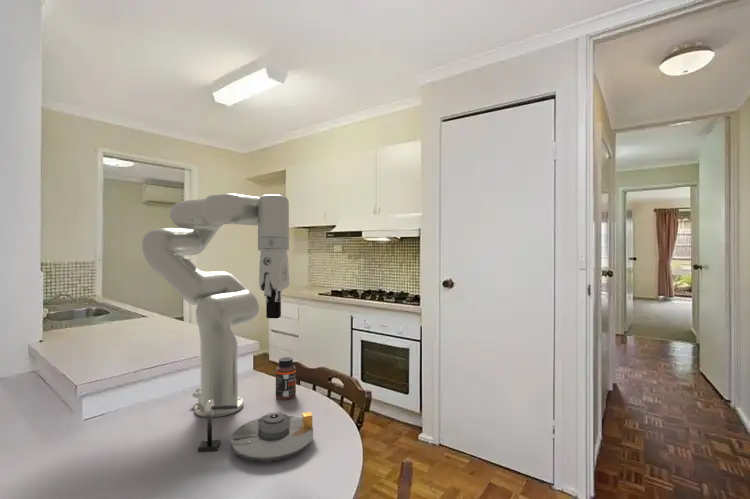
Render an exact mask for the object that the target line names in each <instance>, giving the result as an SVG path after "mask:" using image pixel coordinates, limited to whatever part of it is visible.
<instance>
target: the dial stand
mask: <svg viewBox="0 0 750 499" xmlns="http://www.w3.org/2000/svg"><path fill="white" fill-rule="evenodd" d="M237 408H238V405H224V406H215V404H214V400H213V399H208V400H206V402H205V406H204V416H205V417H204V418H206V440H201V442H200V443H199V445H198V447H197V453H205V452H206V453H207V452H218V450H219V448H220V446H221V444H222V440H221V439H213V420H212V419H213V417H212V415H213V413H214V410H219V409H237Z"/></svg>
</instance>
